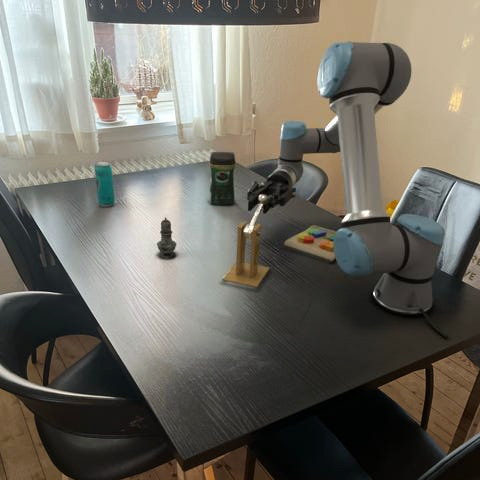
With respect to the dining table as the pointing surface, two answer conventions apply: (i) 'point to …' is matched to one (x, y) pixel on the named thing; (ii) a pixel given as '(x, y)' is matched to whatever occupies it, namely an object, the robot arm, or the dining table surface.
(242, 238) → the wooden lever stand
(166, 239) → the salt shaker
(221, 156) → the coffee jar
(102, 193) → the beverage can
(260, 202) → the tap lever
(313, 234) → the puzzle board
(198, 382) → the dining table surface
